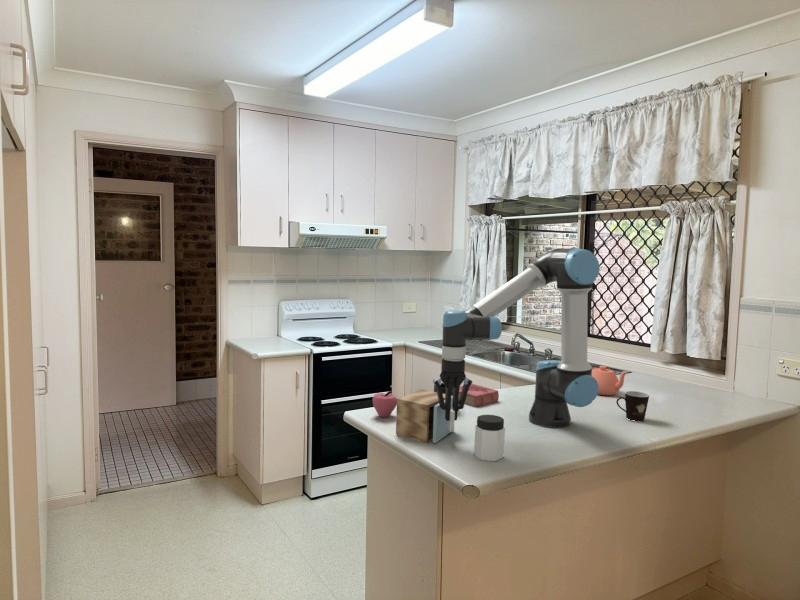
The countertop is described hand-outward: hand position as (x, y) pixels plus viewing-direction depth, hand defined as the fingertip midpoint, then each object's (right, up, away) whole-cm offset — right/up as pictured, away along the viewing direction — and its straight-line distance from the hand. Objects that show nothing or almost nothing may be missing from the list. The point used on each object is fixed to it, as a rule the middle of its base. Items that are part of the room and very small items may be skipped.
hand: (450, 430), depth 182 cm
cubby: (-9, -3, +10) cm, 14 cm away
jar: (+11, -6, -10) cm, 16 cm away
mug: (+2, -1, +37) cm, 37 cm away
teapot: (+76, 0, +73) cm, 105 cm away
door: (-2, -4, +6) cm, 7 cm away
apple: (-22, -1, +26) cm, 35 cm away
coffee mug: (+73, -4, +34) cm, 80 cm away
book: (+15, 0, +53) cm, 55 cm away
